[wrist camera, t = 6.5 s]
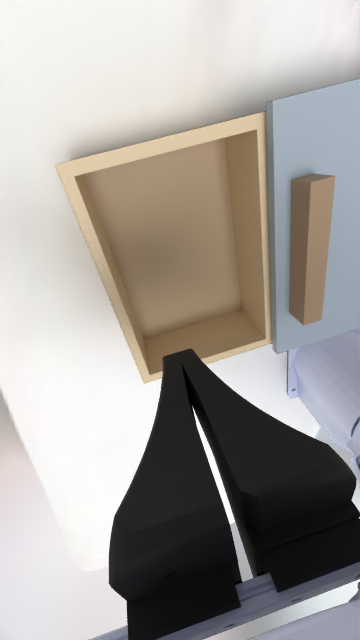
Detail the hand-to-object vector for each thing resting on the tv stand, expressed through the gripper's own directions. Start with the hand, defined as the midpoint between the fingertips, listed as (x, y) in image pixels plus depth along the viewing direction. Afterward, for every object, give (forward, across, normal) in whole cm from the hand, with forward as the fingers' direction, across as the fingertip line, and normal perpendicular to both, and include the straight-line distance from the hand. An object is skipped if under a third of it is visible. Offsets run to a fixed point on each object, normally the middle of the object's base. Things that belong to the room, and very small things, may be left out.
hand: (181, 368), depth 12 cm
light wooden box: (+10, -2, -2) cm, 11 cm away
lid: (+5, -12, -2) cm, 13 cm away
